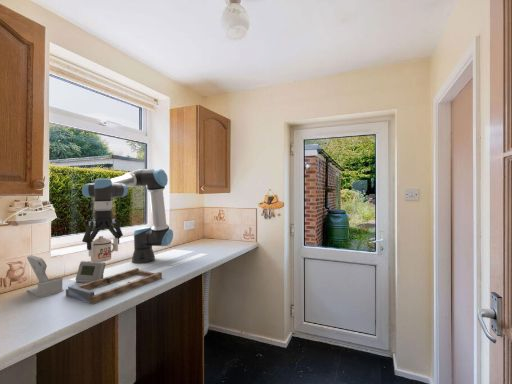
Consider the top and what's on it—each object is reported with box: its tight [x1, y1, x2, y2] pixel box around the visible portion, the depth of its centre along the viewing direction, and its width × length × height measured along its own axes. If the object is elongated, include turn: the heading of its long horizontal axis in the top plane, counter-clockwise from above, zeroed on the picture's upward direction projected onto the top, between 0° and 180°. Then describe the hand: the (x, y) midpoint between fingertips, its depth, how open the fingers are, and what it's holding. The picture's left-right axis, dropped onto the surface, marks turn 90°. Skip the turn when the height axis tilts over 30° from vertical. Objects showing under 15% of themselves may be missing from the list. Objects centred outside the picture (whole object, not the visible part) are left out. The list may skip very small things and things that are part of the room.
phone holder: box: [26, 254, 64, 298], centre depth 134 cm, size 17×10×18 cm, turn 57°
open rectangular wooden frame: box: [65, 267, 163, 305], centre depth 140 cm, size 39×21×4 cm, turn 152°
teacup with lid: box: [90, 235, 115, 263], centre depth 133 cm, size 12×9×12 cm
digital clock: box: [75, 260, 106, 284], centre depth 148 cm, size 16×9×11 cm, turn 65°
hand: (103, 253), depth 133 cm, fingers closed on teacup with lid, 12 cm apart
